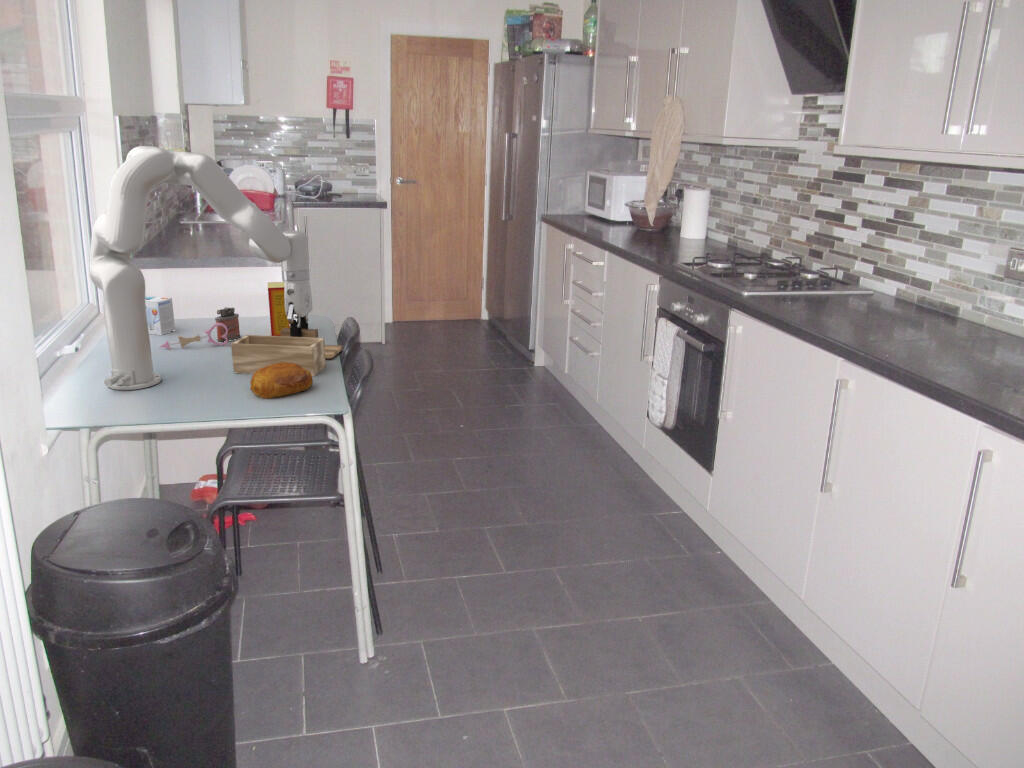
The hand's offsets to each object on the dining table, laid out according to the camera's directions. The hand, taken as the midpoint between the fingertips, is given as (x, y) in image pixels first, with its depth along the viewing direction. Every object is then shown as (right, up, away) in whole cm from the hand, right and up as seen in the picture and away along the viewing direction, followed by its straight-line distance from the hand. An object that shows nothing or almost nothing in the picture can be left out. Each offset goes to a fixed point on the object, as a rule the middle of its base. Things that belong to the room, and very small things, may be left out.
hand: (299, 337), depth 235 cm
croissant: (+3, -15, -30) cm, 33 cm away
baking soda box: (-12, +2, +24) cm, 27 cm away
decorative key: (-33, -3, +7) cm, 34 cm away
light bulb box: (-52, +3, +24) cm, 57 cm away
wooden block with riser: (0, -4, +1) cm, 4 cm away
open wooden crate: (-2, -9, -14) cm, 17 cm away
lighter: (-26, 0, +15) cm, 30 cm away
